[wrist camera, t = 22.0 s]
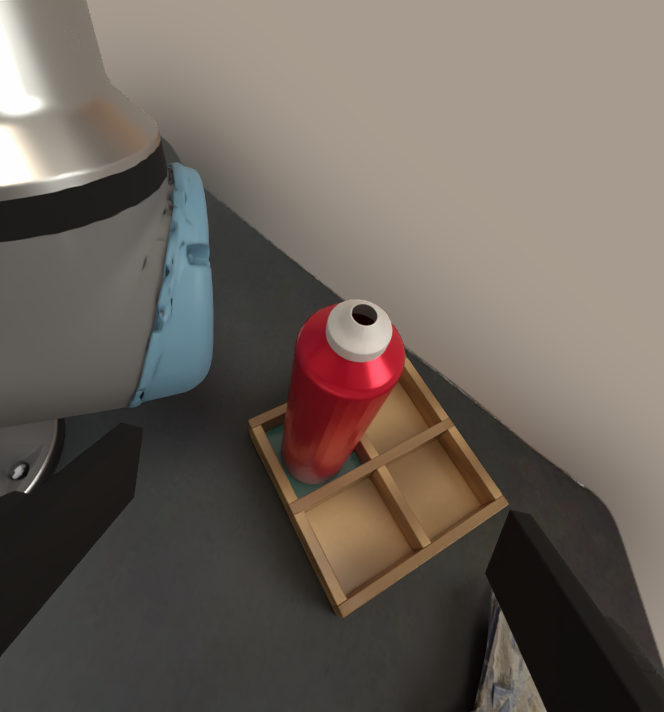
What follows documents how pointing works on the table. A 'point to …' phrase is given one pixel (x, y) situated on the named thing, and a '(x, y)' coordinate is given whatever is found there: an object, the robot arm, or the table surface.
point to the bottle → (337, 386)
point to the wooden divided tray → (383, 495)
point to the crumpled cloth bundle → (504, 671)
